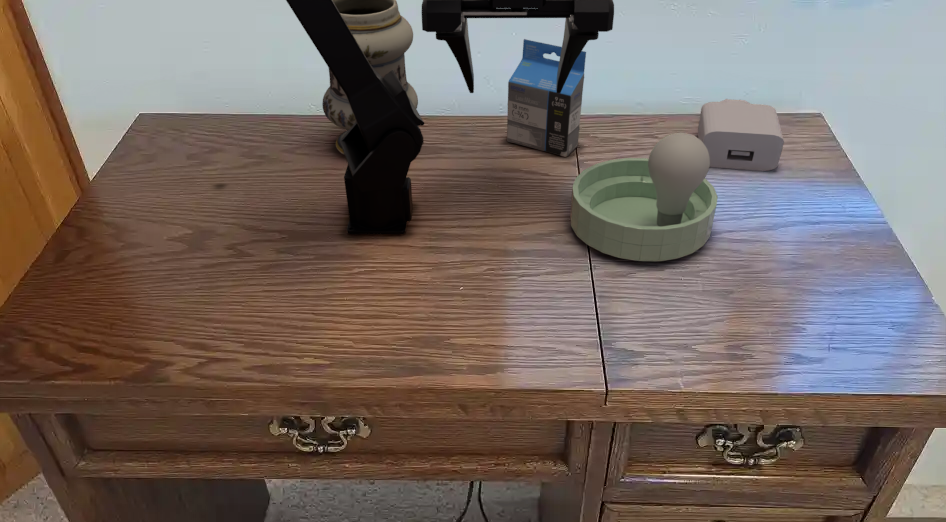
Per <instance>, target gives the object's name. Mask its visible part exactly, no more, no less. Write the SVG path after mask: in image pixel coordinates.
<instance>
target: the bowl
mask: <svg viewBox="0 0 946 522" xmlns="http://www.w3.org/2000/svg"><path fill="white" fill-rule="evenodd" d="M648 160H649V158H646V157H623V158H615V159H609V160H605V161H602V162H598V163H595V164H593V165H591V166H589V167H587V168H586V169H584V170H583V171H581V172H580V173H579V174H578V175H577V176H576V177H575V179H574V181H573V185H572V187H571V200H570V211H569V220H570V227H571V229H572V230H573V232H574V234H575V235H576V236H577V238H579V239H580V240H581V241H582V242H583V243H584V244H586V246H588V247H591V248H592V249H595V250H596V251H598V252H600V253H602V254H605V255H609V256H611V257H615V258H618V259H622V260H623V259H624V260H629V261H635V262H637V261H638V262H664V261H672V260H677V259H680V258H683V257H687V256H689V255H692V254H693V253H695V252H697V251H698V250H699V249H702V248H703V247H704V245H705V244H706V243H707V242H708V240H709V239H710V238H711V234H712V233H711V232H712V228H713V224H714V220H715V214H716V209H717V206H718V205H717V204H718V194H717V192H716V189H715V186H713V184H711V182H710V181H709V180H708V179H707V177H705V179H704V180H703V181H702V183H701V184H700V185H699V186H698V188H697V189H696V190H695V191H694V192H693V193H692V195H691V196H690V199H689V201H688V204H687V207H686V210H685V211H684V212H683V216H682V220H681V224H676V225H669V226H658V225H657V213H658V212H657V211H658V209H657V206H656V203H657V193H656V189H655V186H654V184H653V181H652V179H651V176H650V174H649V169H648Z"/></svg>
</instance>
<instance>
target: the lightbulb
mask: <svg viewBox="0 0 946 522" xmlns="http://www.w3.org/2000/svg"><path fill="white" fill-rule="evenodd" d="M648 159H649V160H648V169H649V174H650V176H651V179H652V181H653V184H654V186H655V189H656V193H657V203H656V206H657V209H658V211H657V212H658V213H657V225H658V226H669V225H676V224H681V220H682V216H683V212H684V211H685V210H686V207H687V204H688V201H689V199H690V196H691V195H692V193H693V192H694V191H695V190H696V189H697V188H698V186H699V185H700V184H701V183H702V181H703V180H704V179H705V178H707V175H708V173H709V170H710V167H709V166H710V157H709V153H708V150H707V148H706V146H705V145H704V144H703V142H702V141H701V140H700V139H698V136H695V135H693V134H691V133H687V132H676V133H675V132H674V133H671V134H668V135H666V136H664V137H662V138H661V139H660V140H658V141H657V142H656V143H655V144H654V145H653V147H652V149H651V151H650V154H649V156H648Z"/></svg>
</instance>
